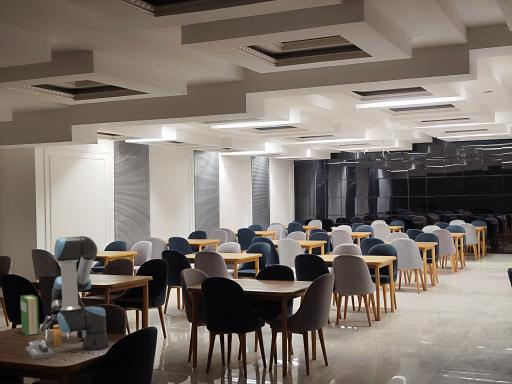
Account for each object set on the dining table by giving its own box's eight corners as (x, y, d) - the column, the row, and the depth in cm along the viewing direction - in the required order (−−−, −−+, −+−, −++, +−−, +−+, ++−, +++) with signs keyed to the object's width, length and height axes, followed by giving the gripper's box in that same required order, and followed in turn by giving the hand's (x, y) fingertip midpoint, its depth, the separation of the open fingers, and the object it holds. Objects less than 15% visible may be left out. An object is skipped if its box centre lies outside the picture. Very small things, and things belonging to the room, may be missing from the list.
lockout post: (63, 345, 393) (62, 324, 393) (56, 346, 390) (55, 326, 390) (59, 344, 396) (58, 324, 396) (52, 345, 393) (51, 325, 393)
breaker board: (25, 350, 383) (25, 340, 384) (45, 347, 389) (45, 337, 389) (33, 359, 360) (32, 348, 361) (54, 356, 366) (53, 345, 366)
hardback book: (39, 334, 428) (37, 297, 429) (27, 336, 425) (26, 298, 425) (33, 330, 444) (31, 294, 444) (21, 331, 440) (20, 295, 440)
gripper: (78, 310, 411) (78, 340, 396) (38, 314, 406) (36, 344, 391) (77, 303, 406) (77, 333, 391) (36, 306, 400) (35, 337, 385)
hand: (57, 338), depth 391 cm, fingers open, 12 cm apart
